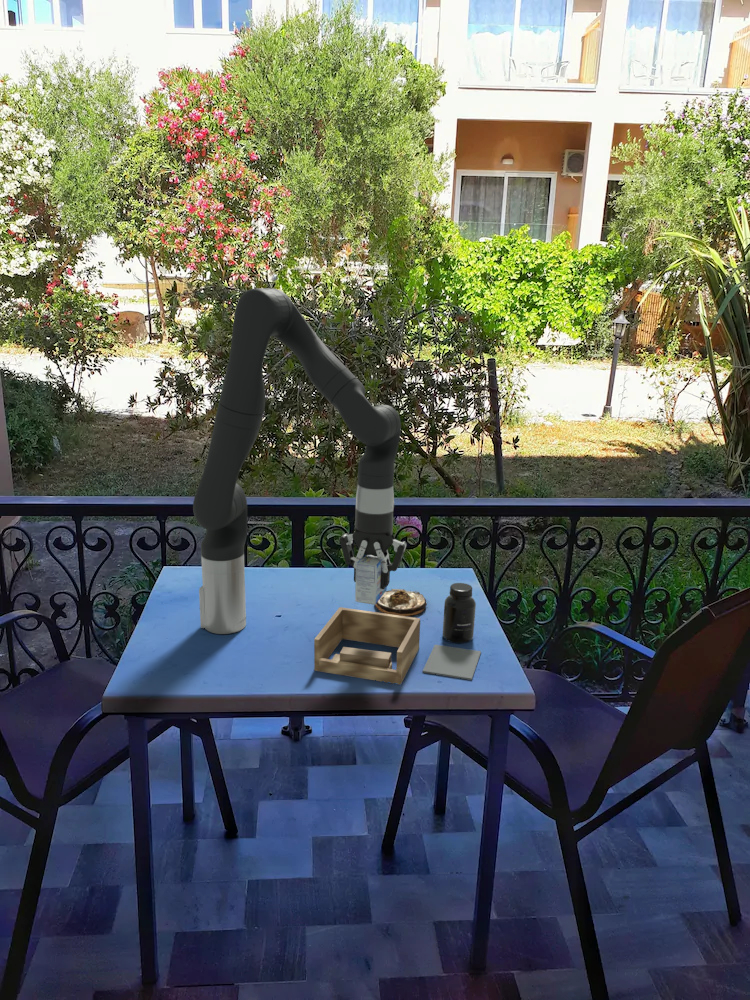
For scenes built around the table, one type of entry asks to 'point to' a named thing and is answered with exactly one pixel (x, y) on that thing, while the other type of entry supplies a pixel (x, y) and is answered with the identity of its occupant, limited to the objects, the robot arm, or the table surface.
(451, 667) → the mat
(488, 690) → the table surface
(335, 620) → the tan wooden open box
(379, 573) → the medicine box
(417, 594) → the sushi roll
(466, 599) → the supplement bottle
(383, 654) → the wooden block
